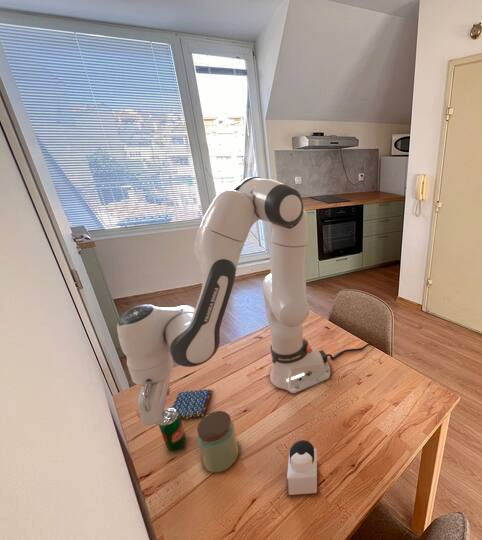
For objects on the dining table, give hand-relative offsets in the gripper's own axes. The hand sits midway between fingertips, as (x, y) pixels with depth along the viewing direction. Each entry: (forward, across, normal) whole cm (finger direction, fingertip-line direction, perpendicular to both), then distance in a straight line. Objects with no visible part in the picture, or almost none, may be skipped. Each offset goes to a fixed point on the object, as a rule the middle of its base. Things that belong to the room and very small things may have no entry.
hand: (163, 407), depth 78 cm
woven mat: (+15, +13, -4) cm, 21 cm away
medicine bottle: (+15, -22, -32) cm, 42 cm away
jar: (+15, -8, -12) cm, 21 cm away
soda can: (+15, 0, 0) cm, 15 cm away
